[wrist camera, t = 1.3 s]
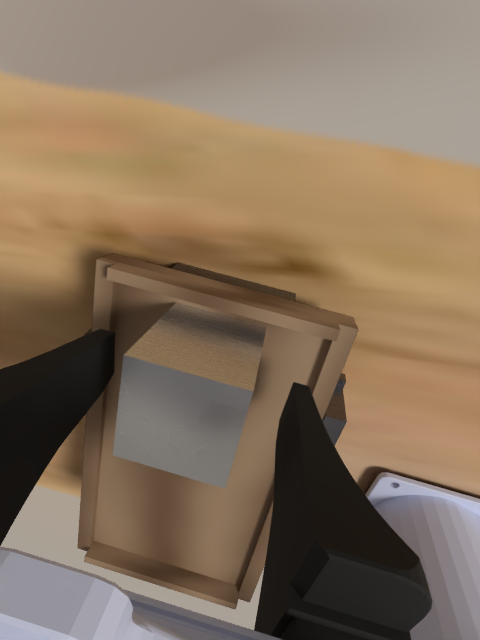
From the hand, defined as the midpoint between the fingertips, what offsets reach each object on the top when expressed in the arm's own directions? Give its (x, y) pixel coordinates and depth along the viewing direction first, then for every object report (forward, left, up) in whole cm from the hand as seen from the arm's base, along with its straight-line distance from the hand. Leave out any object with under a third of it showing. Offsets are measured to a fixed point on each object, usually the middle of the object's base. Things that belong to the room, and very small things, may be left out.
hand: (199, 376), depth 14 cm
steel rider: (0, 0, -2) cm, 2 cm away
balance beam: (0, +3, -3) cm, 4 cm away
